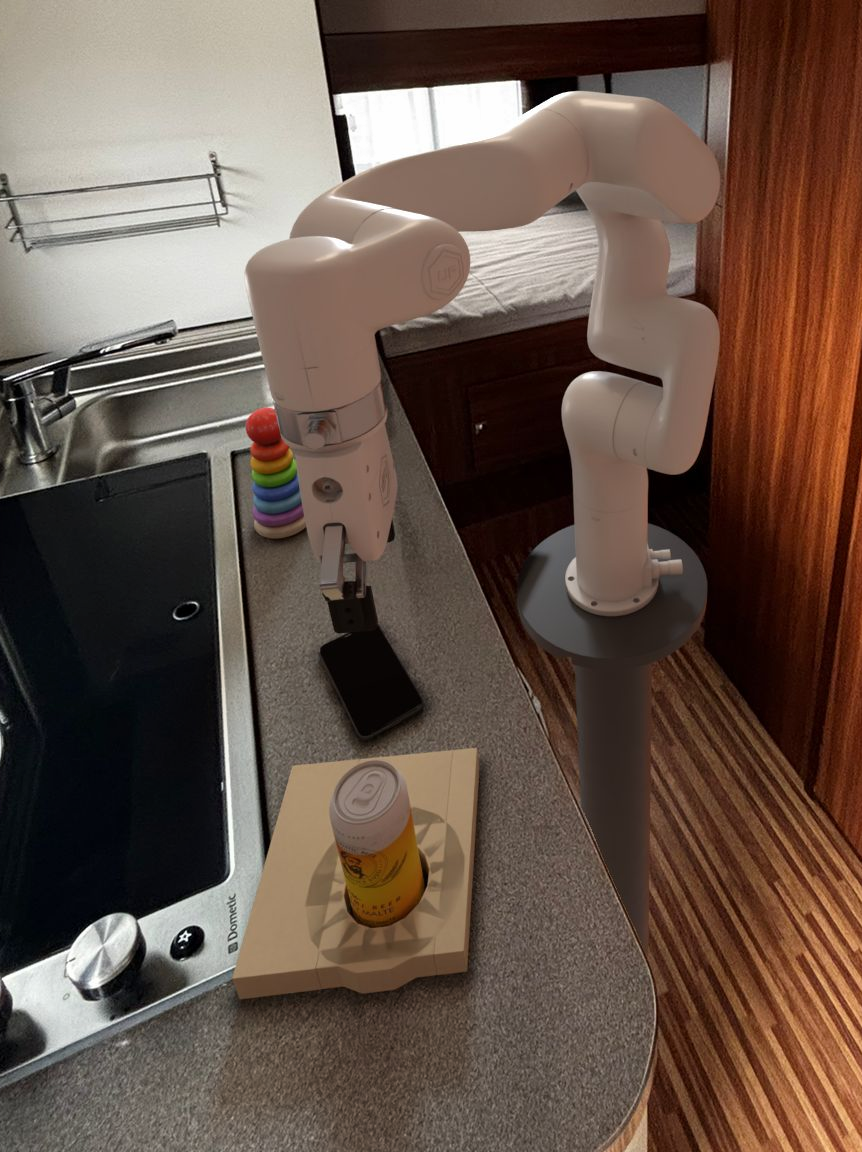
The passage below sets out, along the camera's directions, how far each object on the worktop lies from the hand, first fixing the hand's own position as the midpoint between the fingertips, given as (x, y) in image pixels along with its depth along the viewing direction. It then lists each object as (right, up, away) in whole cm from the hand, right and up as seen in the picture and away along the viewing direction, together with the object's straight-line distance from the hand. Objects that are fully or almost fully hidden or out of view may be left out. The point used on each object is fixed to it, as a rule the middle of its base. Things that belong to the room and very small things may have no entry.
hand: (367, 582), depth 67 cm
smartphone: (-8, -20, +26) cm, 34 cm away
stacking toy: (-28, -9, +51) cm, 58 cm away
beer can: (0, -30, +5) cm, 30 cm away
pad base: (-2, -29, +7) cm, 30 cm away
